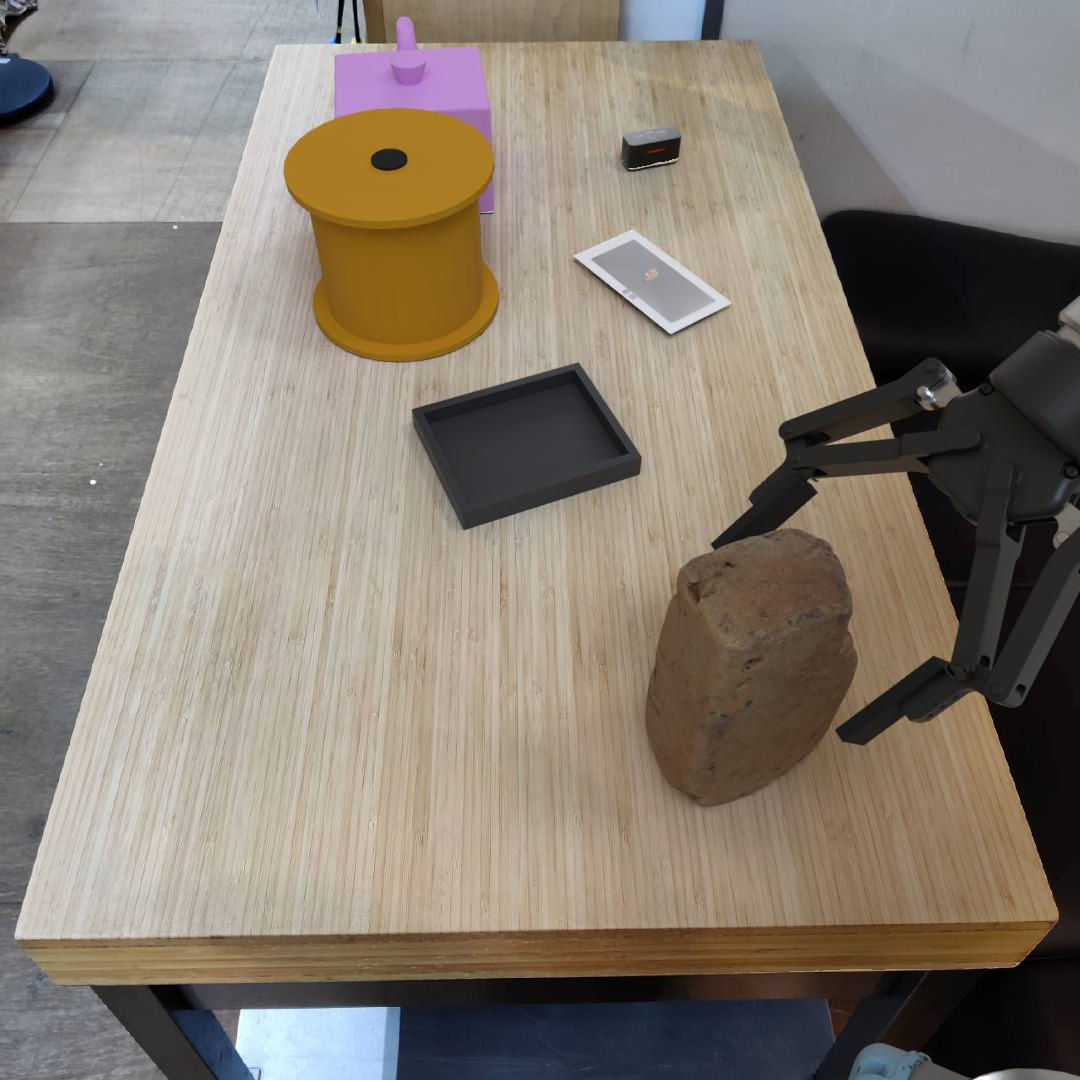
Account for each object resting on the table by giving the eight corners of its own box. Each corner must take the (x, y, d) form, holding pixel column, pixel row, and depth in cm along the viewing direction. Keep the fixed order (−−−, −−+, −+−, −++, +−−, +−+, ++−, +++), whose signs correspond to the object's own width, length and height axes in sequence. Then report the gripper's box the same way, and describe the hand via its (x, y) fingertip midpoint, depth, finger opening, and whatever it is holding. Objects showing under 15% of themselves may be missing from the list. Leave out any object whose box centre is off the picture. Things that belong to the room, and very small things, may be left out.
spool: (481, 236, 103) (474, 96, 91) (515, 347, 92) (512, 204, 80) (307, 257, 100) (277, 116, 88) (320, 374, 89) (288, 230, 77)
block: (675, 825, 63) (721, 659, 47) (631, 725, 67) (660, 543, 52) (825, 774, 65) (918, 600, 49) (773, 681, 69) (842, 494, 54)
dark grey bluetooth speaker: (686, 162, 112) (690, 135, 109) (628, 173, 110) (630, 146, 108) (670, 142, 114) (673, 115, 112) (613, 152, 113) (614, 125, 110)
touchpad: (632, 238, 103) (633, 220, 101) (730, 312, 95) (734, 293, 94) (572, 264, 100) (573, 246, 98) (669, 343, 92) (671, 324, 91)
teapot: (477, 117, 118) (472, -6, 107) (498, 240, 102) (494, 109, 91) (350, 125, 116) (331, 1, 105) (352, 250, 101) (329, 119, 90)
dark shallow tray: (640, 474, 82) (642, 456, 80) (463, 530, 78) (462, 513, 76) (577, 379, 89) (578, 361, 87) (413, 426, 85) (411, 408, 83)
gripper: (1321, 579, 44) (939, 833, 52) (969, 267, 58) (712, 504, 67) (1307, 541, 39) (883, 831, 47) (922, 207, 53) (648, 473, 61)
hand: (781, 639), depth 57 cm, fingers open, 13 cm apart
